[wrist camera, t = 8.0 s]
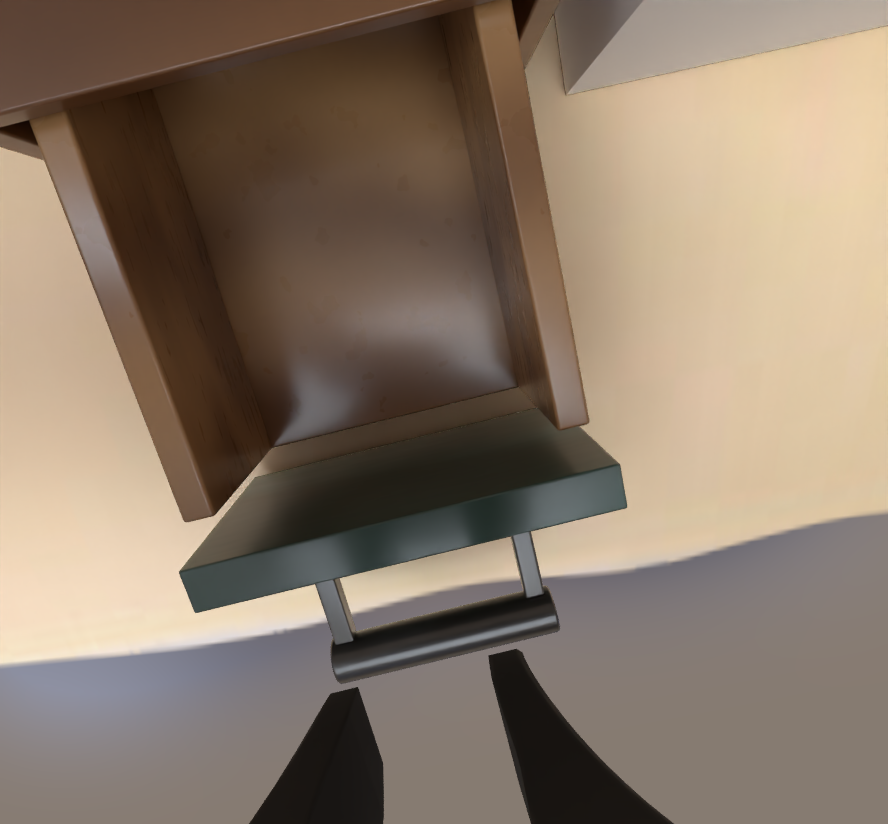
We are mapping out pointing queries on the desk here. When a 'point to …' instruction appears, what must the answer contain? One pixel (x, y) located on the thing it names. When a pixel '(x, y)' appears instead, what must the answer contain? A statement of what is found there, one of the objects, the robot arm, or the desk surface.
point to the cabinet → (179, 44)
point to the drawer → (343, 316)
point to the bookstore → (691, 33)
